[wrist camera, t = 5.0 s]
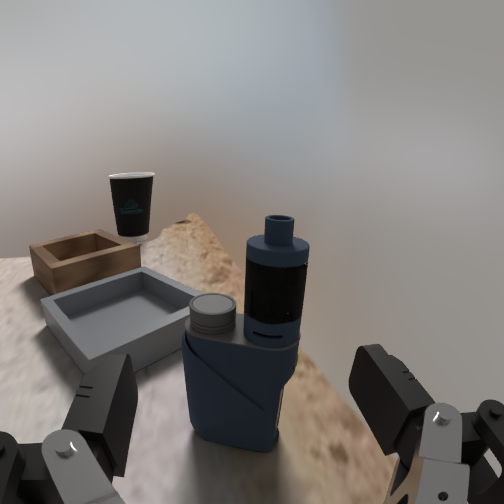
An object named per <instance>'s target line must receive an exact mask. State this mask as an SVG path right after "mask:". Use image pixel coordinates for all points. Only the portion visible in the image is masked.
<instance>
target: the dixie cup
mask: <svg viewBox="0 0 504 504" xmlns="http://www.w3.org/2000/svg"><path fill="white" fill-rule="evenodd" d="M154 175H155V174H154V173H149V172H140V173H122V174H114V175H109V176H108V178H110V185H111V192H112V200H113V206H114V213H115V219H116V225H117V231H118V235H119V236H120V238H123V239H126V240H128V241H131V242H133V243H135V242H141V241H144V240H146V239H147V233H148V232H149V220H150V205H151V194H152V184H153V176H154Z"/></svg>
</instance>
